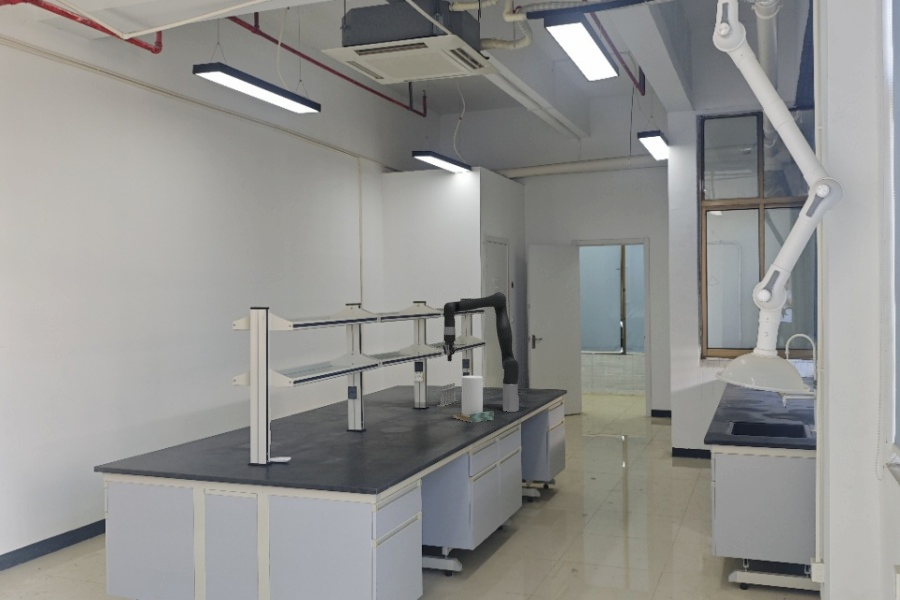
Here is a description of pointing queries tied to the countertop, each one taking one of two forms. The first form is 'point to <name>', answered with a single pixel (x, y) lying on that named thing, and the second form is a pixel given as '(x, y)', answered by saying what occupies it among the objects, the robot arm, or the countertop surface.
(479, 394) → the cylinder
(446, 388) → the test tube rack
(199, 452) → the countertop surface
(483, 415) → the cradle
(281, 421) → the countertop surface
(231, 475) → the countertop surface
